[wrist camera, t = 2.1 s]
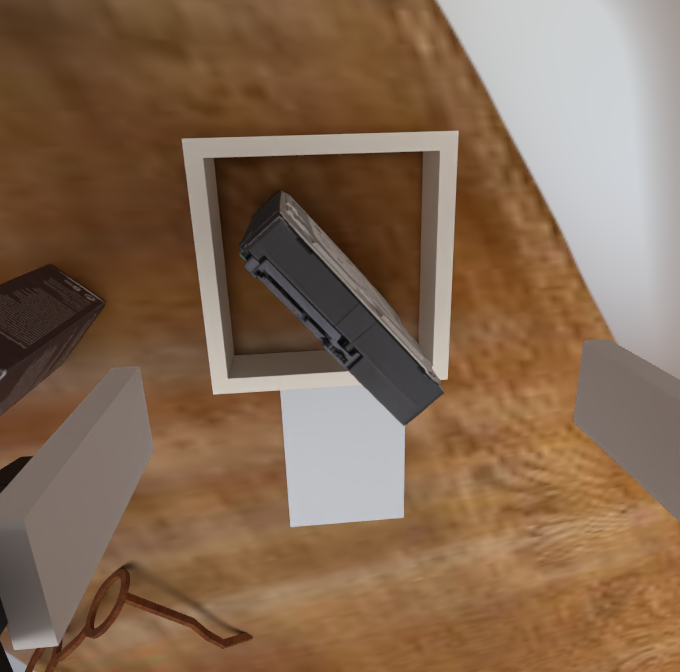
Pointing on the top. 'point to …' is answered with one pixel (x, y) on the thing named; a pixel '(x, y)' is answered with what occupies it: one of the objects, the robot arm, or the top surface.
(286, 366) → the storage box
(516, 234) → the top surface
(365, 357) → the disk drive
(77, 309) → the box
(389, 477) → the mat
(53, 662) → the glasses
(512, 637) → the top surface
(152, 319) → the top surface
